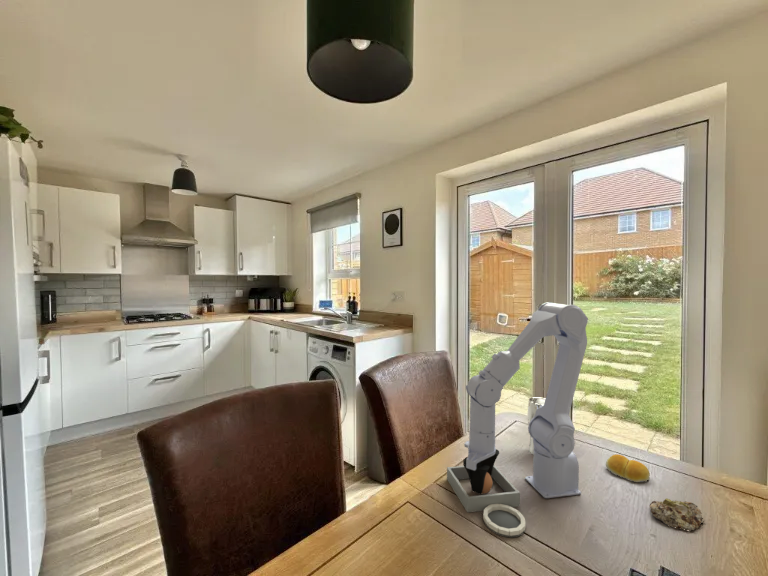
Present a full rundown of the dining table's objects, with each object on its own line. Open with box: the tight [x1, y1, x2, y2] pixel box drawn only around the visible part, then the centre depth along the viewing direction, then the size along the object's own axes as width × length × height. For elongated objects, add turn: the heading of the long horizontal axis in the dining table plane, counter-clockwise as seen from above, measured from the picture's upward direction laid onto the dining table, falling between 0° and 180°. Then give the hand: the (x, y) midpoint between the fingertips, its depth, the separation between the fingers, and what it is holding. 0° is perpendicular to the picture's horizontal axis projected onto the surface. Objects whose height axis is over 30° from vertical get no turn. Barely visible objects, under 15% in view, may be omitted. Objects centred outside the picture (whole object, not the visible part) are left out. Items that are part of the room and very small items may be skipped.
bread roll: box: [605, 453, 651, 483], centre depth 88 cm, size 8×9×4 cm
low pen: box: [446, 464, 521, 513], centre depth 80 cm, size 12×12×3 cm
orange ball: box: [480, 472, 493, 495], centre depth 80 cm, size 5×5×5 cm
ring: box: [482, 504, 526, 538], centre depth 70 cm, size 8×8×1 cm
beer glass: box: [527, 396, 546, 455], centre depth 98 cm, size 7×7×15 cm
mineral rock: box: [649, 498, 704, 532], centre depth 72 cm, size 11×4×8 cm
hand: (481, 485), depth 80 cm, fingers closed on orange ball, 5 cm apart
